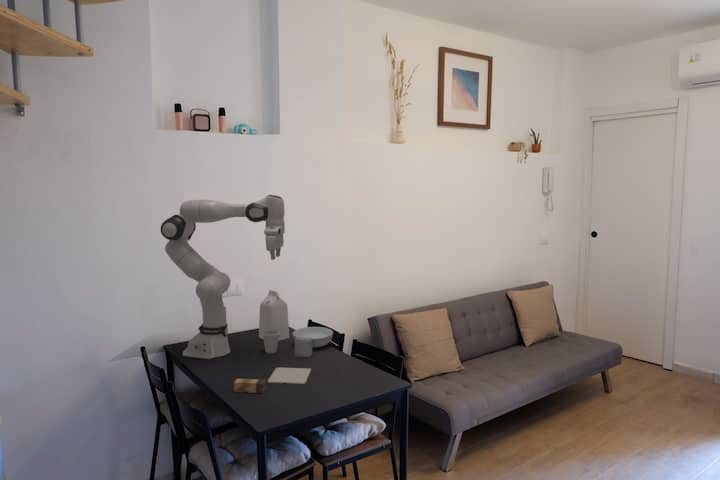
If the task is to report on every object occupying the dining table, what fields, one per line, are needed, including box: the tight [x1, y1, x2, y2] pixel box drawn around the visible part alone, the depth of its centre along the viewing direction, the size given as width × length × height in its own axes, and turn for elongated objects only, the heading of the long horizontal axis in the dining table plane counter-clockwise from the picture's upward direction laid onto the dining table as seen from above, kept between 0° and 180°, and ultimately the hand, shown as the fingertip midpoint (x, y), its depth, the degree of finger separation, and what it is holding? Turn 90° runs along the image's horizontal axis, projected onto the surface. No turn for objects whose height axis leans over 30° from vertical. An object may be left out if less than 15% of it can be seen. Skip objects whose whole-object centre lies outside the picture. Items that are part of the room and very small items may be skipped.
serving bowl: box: [292, 326, 334, 349], centre depth 255 cm, size 21×21×7 cm
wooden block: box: [233, 378, 267, 394], centre depth 199 cm, size 12×4×4 cm, turn 86°
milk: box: [258, 289, 290, 342], centre depth 265 cm, size 12×12×26 cm
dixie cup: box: [262, 330, 280, 354], centre depth 244 cm, size 8×8×10 cm
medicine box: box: [293, 337, 313, 358], centre depth 239 cm, size 8×4×9 cm, turn 84°
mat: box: [266, 367, 312, 385], centre depth 214 cm, size 16×16×1 cm
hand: (275, 258), depth 235 cm, fingers open, 8 cm apart
